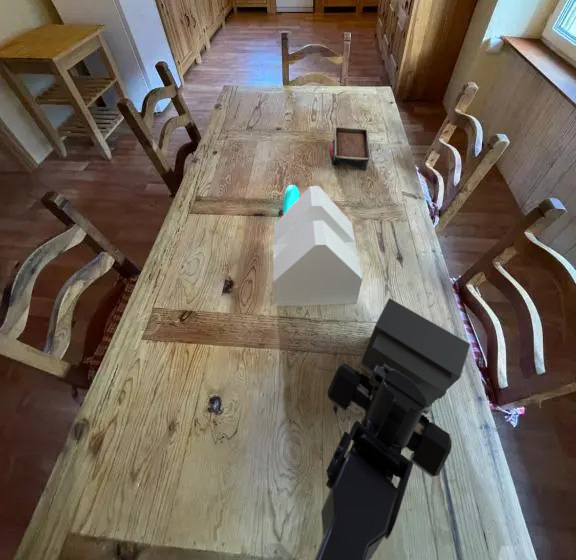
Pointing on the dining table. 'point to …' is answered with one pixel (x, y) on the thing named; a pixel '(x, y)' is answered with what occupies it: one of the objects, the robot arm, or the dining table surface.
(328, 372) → the dining table surface
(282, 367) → the dining table surface
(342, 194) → the dining table surface
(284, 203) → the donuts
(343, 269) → the white house shaped block
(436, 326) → the coffee maker
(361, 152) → the square planter box
